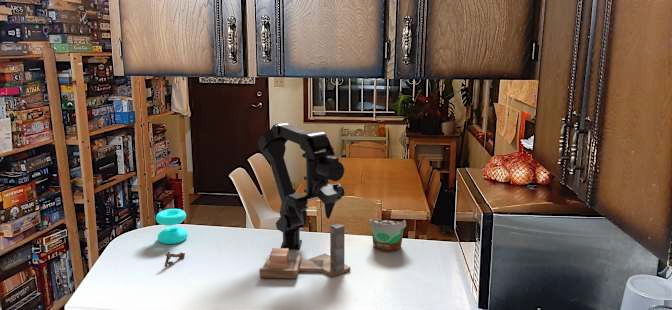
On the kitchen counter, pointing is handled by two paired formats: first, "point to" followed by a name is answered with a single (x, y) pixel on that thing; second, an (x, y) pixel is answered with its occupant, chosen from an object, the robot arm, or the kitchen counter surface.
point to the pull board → (315, 260)
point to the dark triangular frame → (172, 256)
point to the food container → (387, 234)
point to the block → (279, 258)
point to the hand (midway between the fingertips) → (316, 221)
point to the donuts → (171, 233)
